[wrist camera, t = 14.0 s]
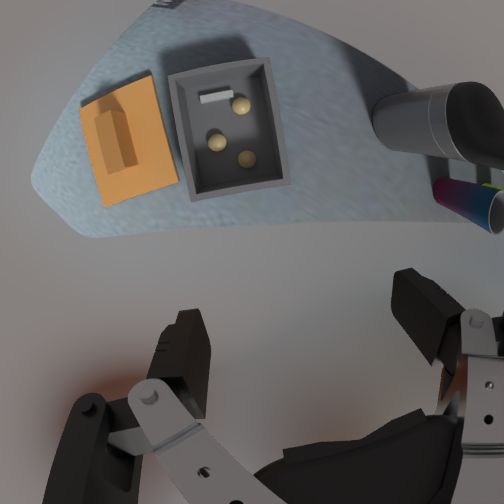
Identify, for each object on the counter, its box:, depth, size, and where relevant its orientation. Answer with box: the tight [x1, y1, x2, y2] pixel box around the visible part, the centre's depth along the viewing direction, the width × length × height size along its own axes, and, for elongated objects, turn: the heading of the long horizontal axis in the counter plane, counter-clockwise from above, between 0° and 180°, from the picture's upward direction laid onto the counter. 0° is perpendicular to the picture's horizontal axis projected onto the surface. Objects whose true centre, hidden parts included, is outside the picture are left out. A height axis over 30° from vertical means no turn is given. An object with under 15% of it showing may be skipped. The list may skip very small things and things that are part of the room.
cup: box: [433, 177, 504, 235], centre depth 32 cm, size 7×7×15 cm
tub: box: [168, 57, 291, 202], centre depth 32 cm, size 12×16×7 cm
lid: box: [79, 75, 180, 207], centre depth 31 cm, size 12×16×7 cm
